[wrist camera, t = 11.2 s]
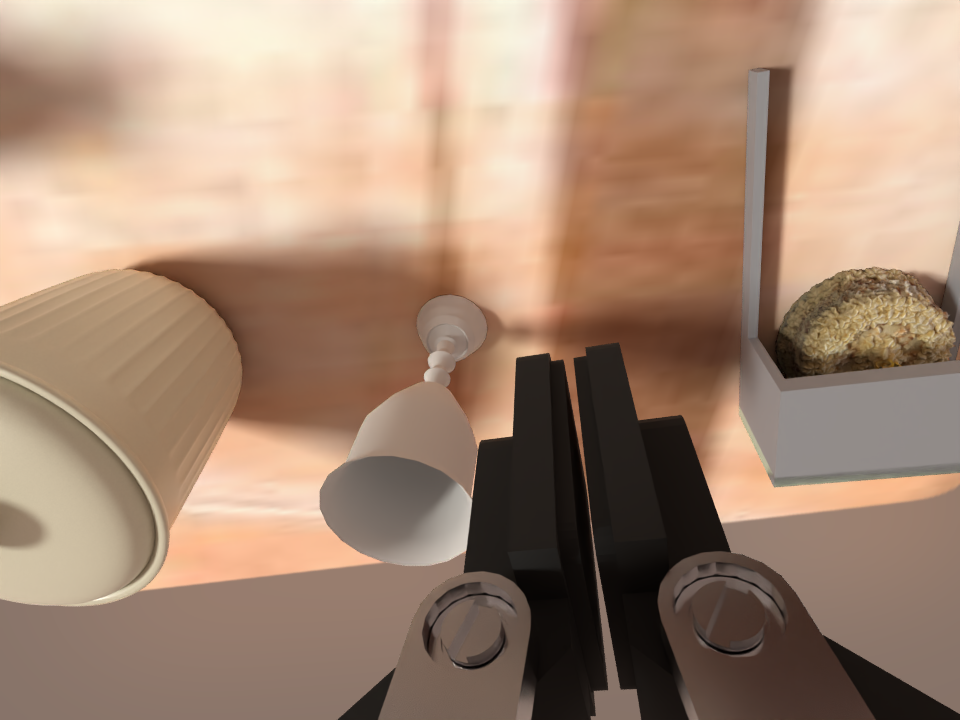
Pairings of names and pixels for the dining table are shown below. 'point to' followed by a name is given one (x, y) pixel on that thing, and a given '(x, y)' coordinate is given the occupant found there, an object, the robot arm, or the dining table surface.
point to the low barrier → (839, 378)
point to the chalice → (413, 456)
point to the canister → (104, 430)
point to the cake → (863, 325)
